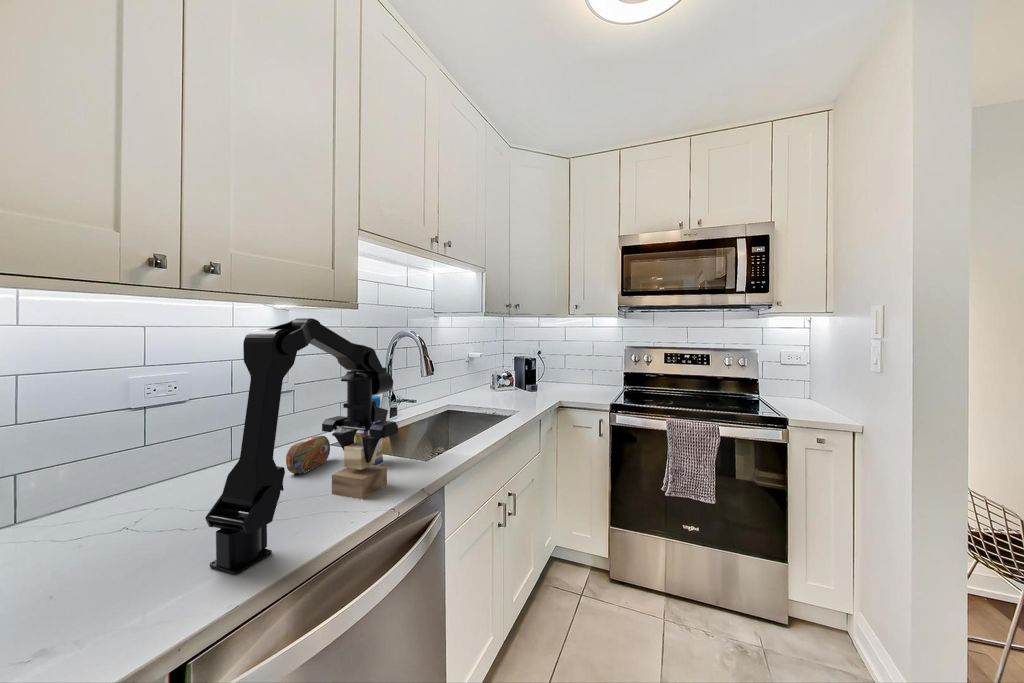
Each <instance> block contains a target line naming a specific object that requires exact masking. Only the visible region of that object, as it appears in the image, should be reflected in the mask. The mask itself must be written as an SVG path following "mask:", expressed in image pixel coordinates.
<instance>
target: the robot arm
mask: <svg viewBox="0 0 1024 683" xmlns="http://www.w3.org/2000/svg"><path fill="white" fill-rule="evenodd" d="M309 344H310V345H311V346H314V347H316V348H317V349H320V350H322V351H323V352H326V353H327V354H329V355H331V356H333V357H334V358H336V359H337V362H338V364H339V365H340V366H341V367H343V369H345V370H347V372H346V374H344V375H343V376H342V377H341V378H340V381H341V382H346V394H347V395H346V401H347V402H345V403H343V404H342V405H343V407H342V408H343V409H346V414H347V415H346V416H341V415H337V416H333V417H328V418H325V419H324V420H323V422H322V424H321V431H322V432H324V433H325V432H327V433H332V434H331V435H332V437H335V439H336V441H337V442H338V443H339V445H340V447H341V449H342V450H343V451H344V447H345V446H348V445H350V444H353V443H354V436H355V434H356V432H357V430H361V431H368V436H365V437H362V441H363V447H364V454H365V459H366V462H367V463H369V462H371V459H372V457H373V454H374V451H375V448H376V446H377V444H378V442H379V440H380V439H381V438H383V439H386V438H388V437H390V436H393V435H395V434H397V433H399V426H398V423H397V422H396V421H392V420H391V421H390V420H387V417H388V413H389V409H387V408H382V407H380V408H379V407H376V402H375V401H372V395H375V396H377V395H379V394H384V393H387V392H389V391H390V390H392V389H393V386H394V380H393V377H392V375H391V374H390V373H389V372H388V371H387V367H383V366H382V364H381V361H380V359H379V357H378V355H377V352H376V350H375V349H374V348H373V347H369V346H367V345H364V344H357V343H353V342H351V341H350V340H348V339H346V338H345V337H343V336H342V335H340V334H338V333H336V332H335V331H333V330H332V329H330V328H329V327H326V326H325V325H323V324H322V323H321V322H320V321H319V320H318V319H315V318H313V317H312V318H311V317H308V318H295V319H292V320H290V321H287V322H286V323H281V324H278V325H275V326H271V327H267V328H262V329H261V328H260V329H259V328H256V329H254V330H252V331H250V332H249V333H246V335H245V337H244V339H243V347H242V348H243V363H244V364H245V367H246V369H247V371H248V373H249V376H250V382H249V388H248V389H249V390H248V397H247V402H246V409H245V410H246V411H245V418H244V426H243V431H242V432H243V433H242V439H241V447H240V455H239V459H238V461H237V462H236V463H235V465H234V466H233V467H232V469H231V470H230V471H229V473H228V474H227V477H226V480H225V484H224V486H223V491H222V493H221V494H220V497H219V498H218V499H217V500H216V502H215V503H214V505H213V506H212V507H211V509H210V511H209V512H208V513H207V514H206V516H205V518H204V519H205V521H206V523H207V526H208V527H209V528H216V529H218V530H216V531H215V556H216V557H215V560H213V561H211V562H209V567H210V568H213V569H215V570H220V571H223V572H226V573H229V574H232V575H238V574H240V573H241V572H243V571H245V570H247V569H248V568H250V567H252V566H253V565H255V564H257V563H259V562H260V561H262V560H263V559H266V558H267V557H269V556H270V555H272V554H273V550H271V549H268V548H267V547H268V526H267V525H269V524H270V523H272V522H273V520H274V518H275V517H274V516H275V513H276V509H277V505H278V502H279V500H280V497H281V491H282V492H283V491H285V490H284V489H285V488H284V478H285V474H286V471H285V470H286V469H285V466H284V467H283V466H277V464H276V462H275V460H274V454H275V453H274V450H275V444H276V437H277V436H276V435H277V430H278V420H279V419H278V418H279V413H280V404H281V398H282V397H281V396H282V391H283V390H282V389H283V380H284V379H285V377H286V375H287V374H288V373H289V371H290V370H291V368H292V367H293V366H294V364H295V361H296V357H297V353H298V352H299V351H300V350H303V349H304V348H306V347H308V346H309ZM377 421H381V422H378V423H375V424H372V422H377ZM362 426H364V427H362ZM333 431H334V432H333Z"/></svg>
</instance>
